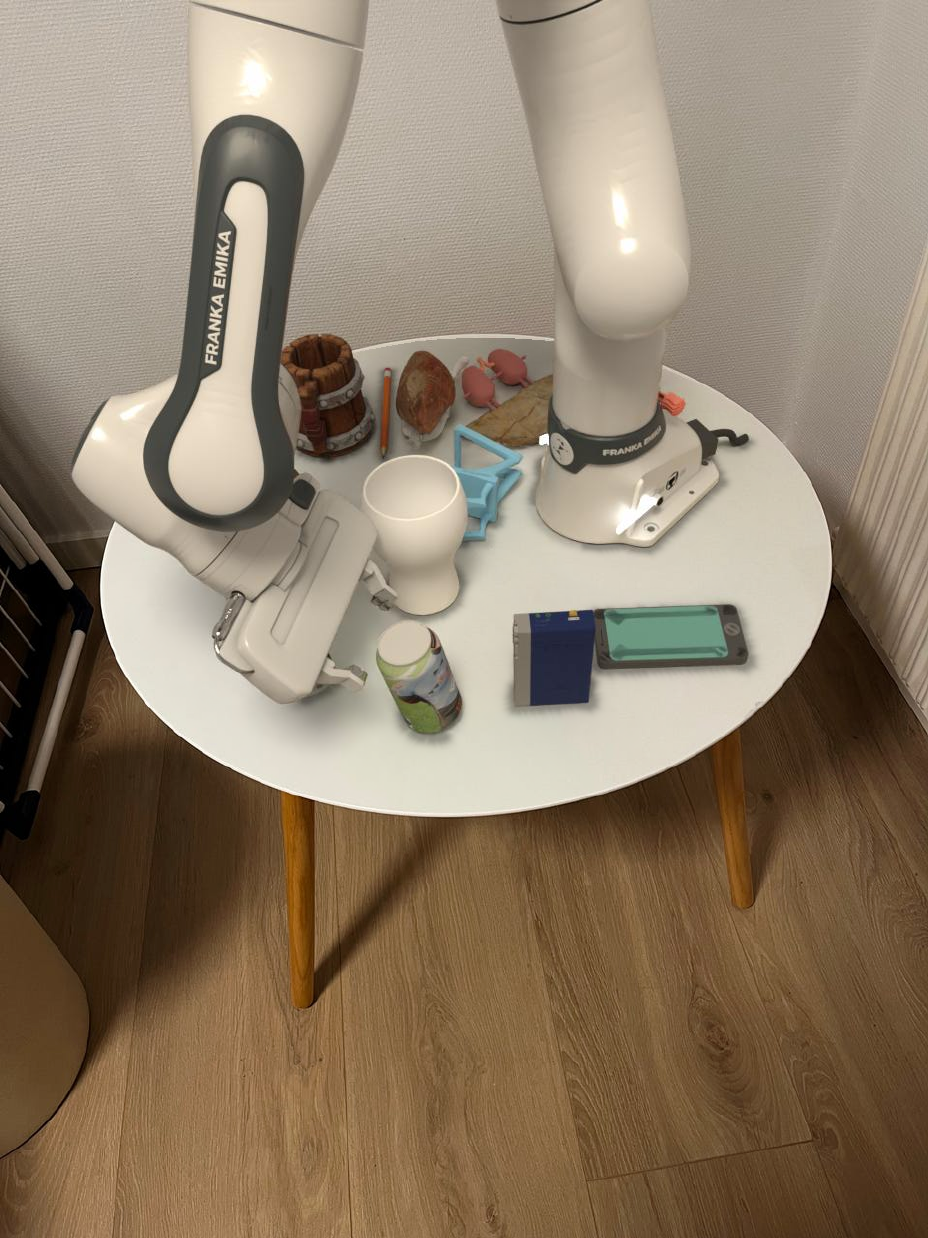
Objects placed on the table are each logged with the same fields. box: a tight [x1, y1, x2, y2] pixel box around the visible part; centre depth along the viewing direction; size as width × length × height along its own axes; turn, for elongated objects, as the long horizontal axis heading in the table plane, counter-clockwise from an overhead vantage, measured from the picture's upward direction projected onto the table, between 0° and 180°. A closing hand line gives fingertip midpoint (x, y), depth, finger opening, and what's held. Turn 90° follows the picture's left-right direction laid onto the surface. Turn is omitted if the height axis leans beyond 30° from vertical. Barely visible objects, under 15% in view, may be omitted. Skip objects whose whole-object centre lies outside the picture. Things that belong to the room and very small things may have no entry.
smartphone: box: [593, 603, 750, 670], centre depth 93 cm, size 7×1×15 cm
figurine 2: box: [460, 348, 534, 411], centre depth 120 cm, size 12×3×7 cm
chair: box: [448, 424, 524, 542], centre depth 104 cm, size 8×8×12 cm
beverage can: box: [375, 620, 463, 734], centre depth 84 cm, size 6×7×12 cm
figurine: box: [401, 356, 470, 450], centre depth 117 cm, size 7×4×18 cm
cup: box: [360, 454, 469, 616], centre depth 93 cm, size 11×11×15 cm
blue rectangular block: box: [511, 609, 596, 708], centre depth 85 cm, size 7×2×12 cm, turn 92°
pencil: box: [380, 367, 392, 459], centre depth 119 cm, size 1×19×1 cm
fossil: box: [461, 374, 553, 447], centre depth 116 cm, size 21×13×2 cm, turn 135°
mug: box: [281, 333, 376, 458], centre depth 112 cm, size 12×14×15 cm
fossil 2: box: [395, 349, 457, 435], centre depth 112 cm, size 13×8×10 cm
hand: (377, 642), depth 82 cm, fingers open, 8 cm apart
